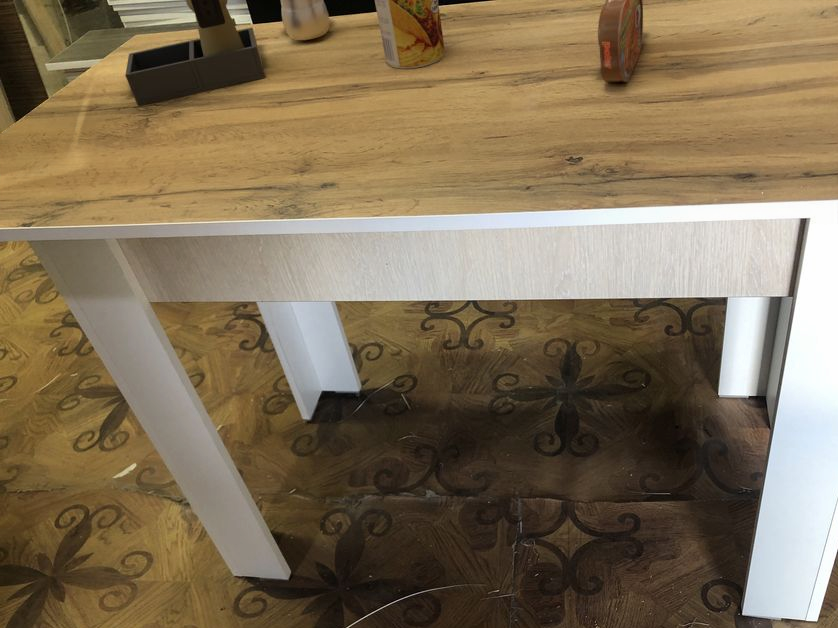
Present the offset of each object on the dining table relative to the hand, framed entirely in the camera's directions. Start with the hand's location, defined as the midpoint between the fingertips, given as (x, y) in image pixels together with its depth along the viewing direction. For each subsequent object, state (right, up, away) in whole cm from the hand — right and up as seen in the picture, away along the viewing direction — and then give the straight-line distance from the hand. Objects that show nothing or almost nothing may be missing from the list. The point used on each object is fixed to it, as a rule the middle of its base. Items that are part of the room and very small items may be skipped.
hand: (212, 14), depth 100 cm
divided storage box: (-3, -7, +5) cm, 9 cm away
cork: (+1, -5, +5) cm, 7 cm away
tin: (+51, -10, -9) cm, 53 cm away
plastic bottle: (+10, +2, +13) cm, 16 cm away
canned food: (+26, -5, +2) cm, 27 cm away
